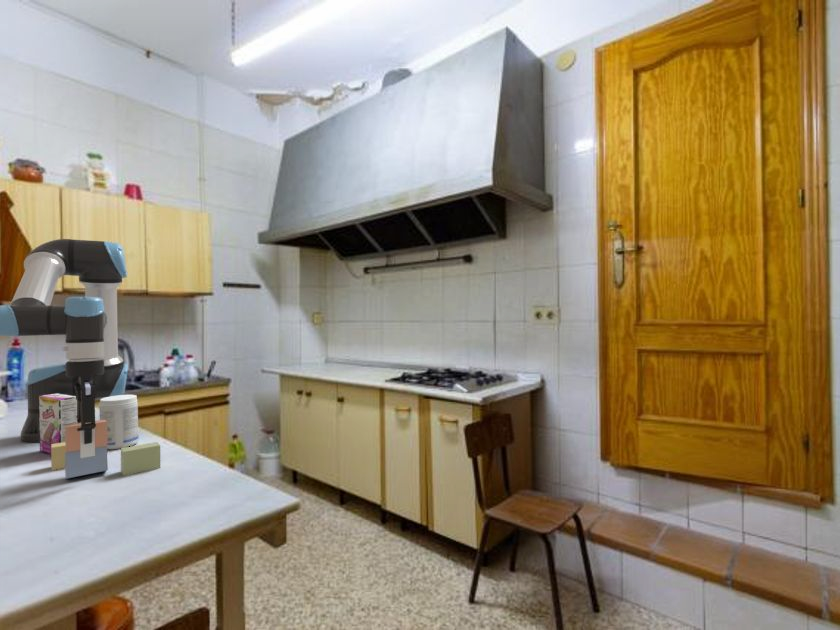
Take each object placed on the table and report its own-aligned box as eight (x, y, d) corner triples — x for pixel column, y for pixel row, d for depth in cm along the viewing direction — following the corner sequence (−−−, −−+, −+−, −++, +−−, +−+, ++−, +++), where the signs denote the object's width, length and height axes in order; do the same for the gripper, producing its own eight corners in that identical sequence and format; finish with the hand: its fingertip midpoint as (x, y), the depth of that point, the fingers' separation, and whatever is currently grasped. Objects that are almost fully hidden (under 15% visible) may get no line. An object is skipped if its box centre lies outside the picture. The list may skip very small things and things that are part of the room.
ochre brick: (52, 471, 110) (51, 447, 110) (51, 467, 113) (51, 444, 113) (91, 463, 116) (91, 441, 116) (89, 460, 119) (89, 438, 119)
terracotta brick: (66, 452, 103) (66, 427, 104) (65, 449, 106) (65, 424, 107) (107, 445, 109) (107, 421, 109) (105, 442, 112) (105, 419, 112)
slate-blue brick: (66, 478, 102) (65, 452, 103) (65, 478, 105) (64, 453, 106) (107, 470, 107) (106, 445, 109) (105, 470, 110) (104, 446, 112)
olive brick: (123, 476, 107) (123, 451, 107) (120, 471, 110) (120, 448, 110) (160, 468, 112) (160, 445, 112) (157, 464, 115) (157, 441, 115)
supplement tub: (136, 439, 138) (136, 393, 138) (140, 446, 131) (140, 397, 131) (98, 445, 132) (98, 396, 132) (100, 452, 125) (100, 401, 125)
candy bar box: (38, 452, 125) (37, 395, 125) (58, 447, 130) (58, 392, 130) (59, 457, 121) (59, 398, 121) (79, 452, 125) (79, 395, 125)
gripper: (63, 357, 111) (63, 446, 111) (68, 364, 96) (69, 466, 96) (99, 355, 116) (100, 440, 116) (109, 361, 101) (110, 459, 101)
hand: (86, 452), depth 106 cm, fingers open, 8 cm apart
